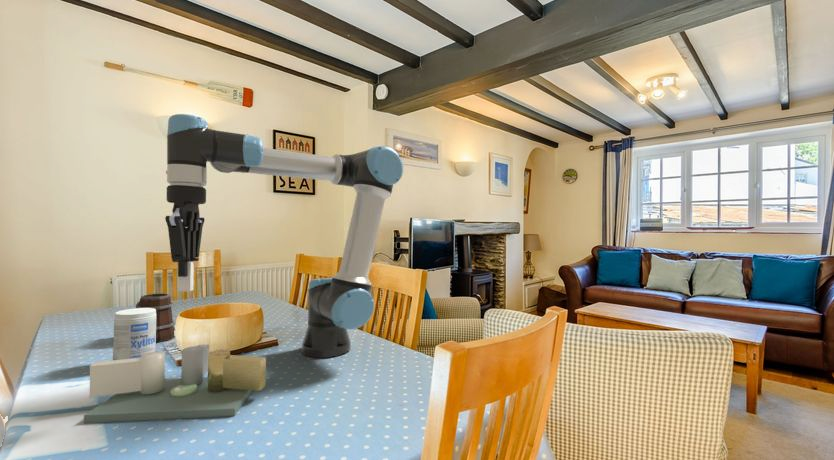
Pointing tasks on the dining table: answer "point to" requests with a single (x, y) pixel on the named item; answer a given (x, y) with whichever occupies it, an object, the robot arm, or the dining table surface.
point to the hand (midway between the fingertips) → (185, 290)
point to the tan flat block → (235, 371)
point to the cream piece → (128, 375)
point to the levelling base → (174, 396)
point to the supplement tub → (134, 333)
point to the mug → (160, 314)
